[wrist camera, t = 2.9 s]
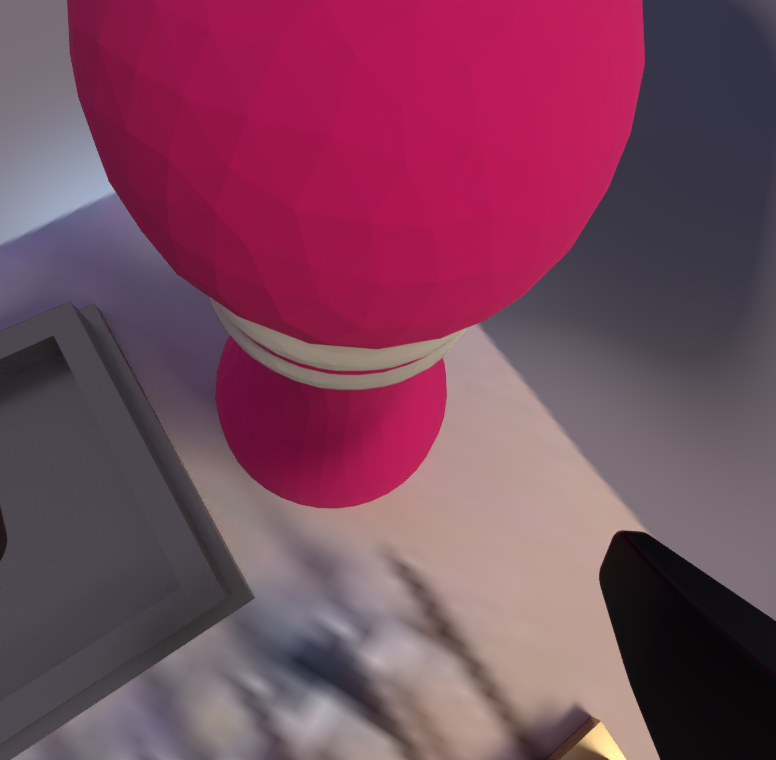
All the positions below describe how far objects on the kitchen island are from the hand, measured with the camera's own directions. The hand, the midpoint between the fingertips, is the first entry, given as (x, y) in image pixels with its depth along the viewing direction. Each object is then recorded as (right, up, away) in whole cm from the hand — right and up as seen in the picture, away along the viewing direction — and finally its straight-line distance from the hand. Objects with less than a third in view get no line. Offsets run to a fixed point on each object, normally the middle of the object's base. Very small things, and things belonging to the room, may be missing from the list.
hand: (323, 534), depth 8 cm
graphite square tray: (-13, -3, +10) cm, 17 cm away
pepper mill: (-1, 0, +13) cm, 14 cm away
